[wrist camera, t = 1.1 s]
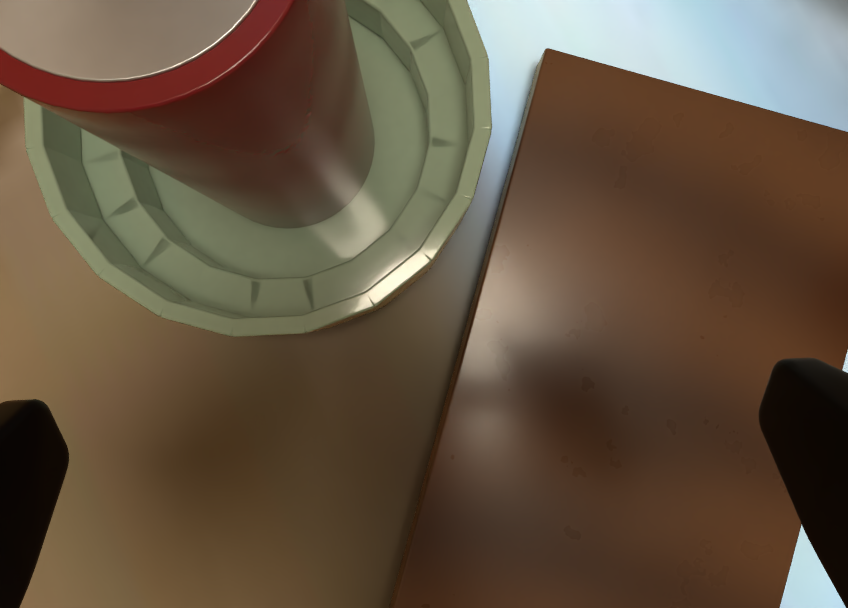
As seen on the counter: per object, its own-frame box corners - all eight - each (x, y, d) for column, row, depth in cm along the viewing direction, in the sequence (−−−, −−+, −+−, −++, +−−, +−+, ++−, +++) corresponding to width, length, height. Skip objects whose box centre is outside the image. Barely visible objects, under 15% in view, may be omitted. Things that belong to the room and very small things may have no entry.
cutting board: (712, 744, 21) (735, 778, 20) (375, 654, 21) (372, 681, 19) (868, 157, 21) (902, 146, 20) (536, 65, 21) (546, 46, 20)
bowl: (419, 372, 21) (421, 388, 17) (63, 274, 21) (-33, 265, 16) (516, 20, 21) (543, -58, 17) (163, -79, 21) (95, -184, 17)
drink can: (348, 248, 20) (253, 160, 8) (180, 202, 20) (-161, 45, 8) (394, 82, 20) (365, -244, 8) (227, 35, 20) (-44, -360, 8)
